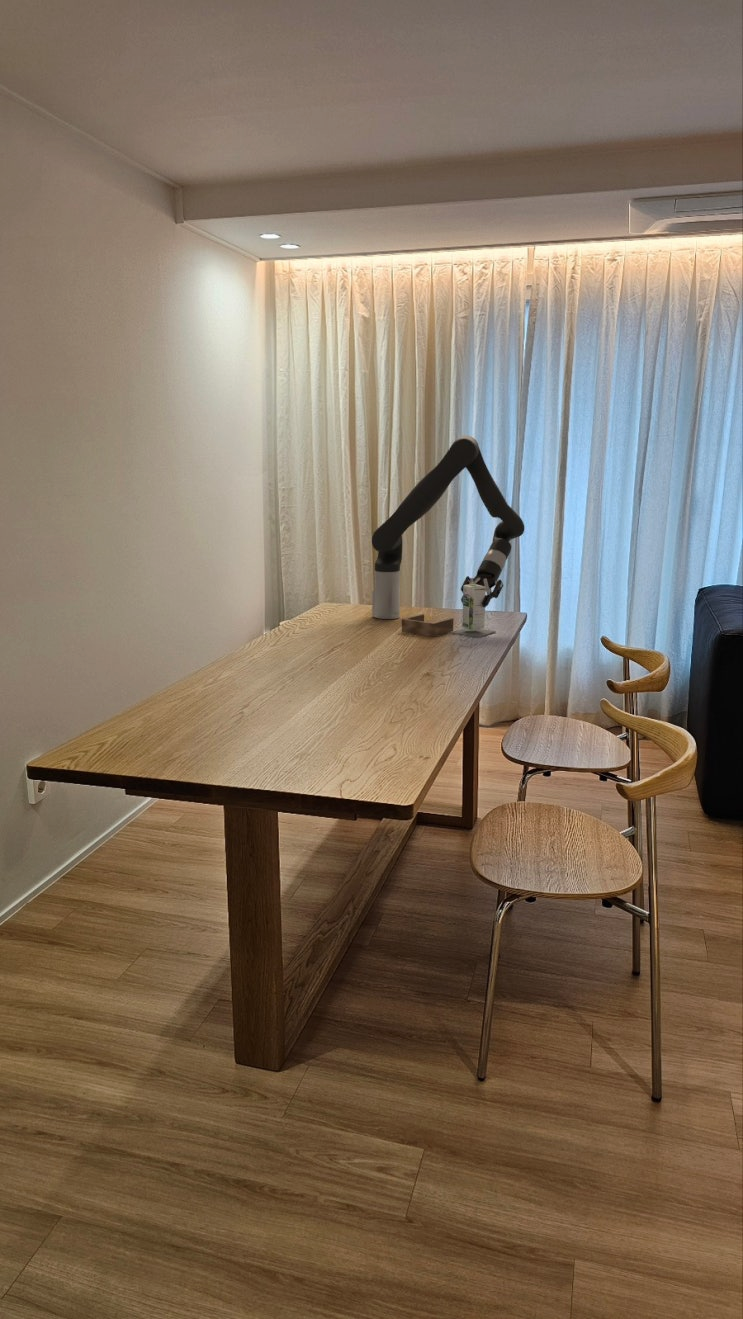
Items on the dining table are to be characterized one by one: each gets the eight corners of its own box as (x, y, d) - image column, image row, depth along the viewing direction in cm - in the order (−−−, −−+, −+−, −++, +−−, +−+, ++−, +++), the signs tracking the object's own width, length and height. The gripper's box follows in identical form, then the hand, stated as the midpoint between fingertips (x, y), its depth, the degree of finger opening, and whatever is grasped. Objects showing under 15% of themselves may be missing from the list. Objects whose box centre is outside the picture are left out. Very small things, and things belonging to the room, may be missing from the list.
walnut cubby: (401, 632, 314) (401, 619, 313) (421, 626, 323) (421, 613, 322) (433, 637, 306) (433, 623, 305) (453, 631, 315) (453, 618, 314)
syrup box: (461, 627, 313) (462, 584, 310) (476, 625, 316) (477, 583, 312) (470, 630, 308) (470, 587, 305) (485, 628, 311) (486, 585, 307)
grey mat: (450, 633, 311) (450, 632, 311) (467, 628, 320) (467, 627, 320) (478, 638, 305) (478, 636, 304) (495, 632, 313) (495, 631, 313)
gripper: (470, 557, 317) (451, 595, 311) (506, 560, 309) (487, 600, 303) (477, 571, 323) (459, 608, 316) (514, 574, 314) (495, 613, 308)
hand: (473, 604), depth 310 cm, fingers closed on syrup box, 7 cm apart
